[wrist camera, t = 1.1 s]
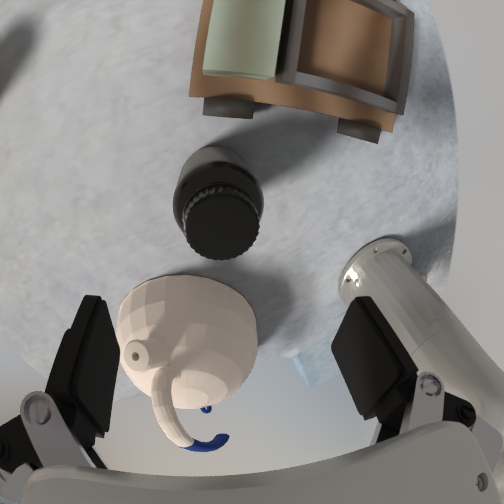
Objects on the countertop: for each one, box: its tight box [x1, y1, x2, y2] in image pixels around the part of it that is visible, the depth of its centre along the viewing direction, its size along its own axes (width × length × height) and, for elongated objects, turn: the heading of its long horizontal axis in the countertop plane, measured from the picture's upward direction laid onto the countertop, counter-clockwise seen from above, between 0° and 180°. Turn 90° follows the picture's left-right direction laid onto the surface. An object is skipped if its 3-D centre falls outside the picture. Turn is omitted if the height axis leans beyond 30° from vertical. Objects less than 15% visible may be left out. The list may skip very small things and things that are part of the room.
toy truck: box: [189, 0, 414, 144], centre depth 17 cm, size 20×19×7 cm
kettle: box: [116, 275, 258, 452], centre depth 30 cm, size 20×21×18 cm
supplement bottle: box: [173, 146, 264, 261], centre depth 22 cm, size 7×7×12 cm
